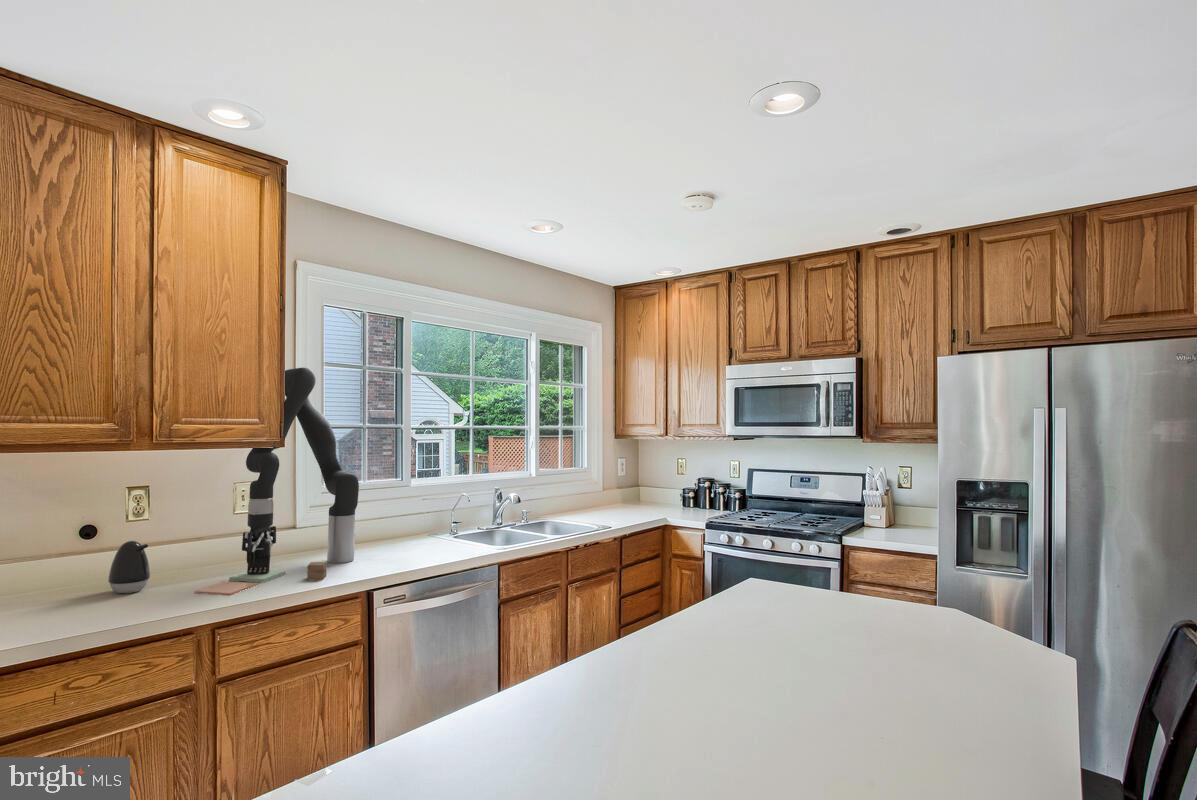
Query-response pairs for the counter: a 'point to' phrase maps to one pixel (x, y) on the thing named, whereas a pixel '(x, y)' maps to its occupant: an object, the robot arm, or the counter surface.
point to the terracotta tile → (226, 588)
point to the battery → (261, 558)
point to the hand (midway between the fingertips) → (258, 560)
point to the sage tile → (257, 576)
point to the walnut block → (316, 570)
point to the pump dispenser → (129, 568)
